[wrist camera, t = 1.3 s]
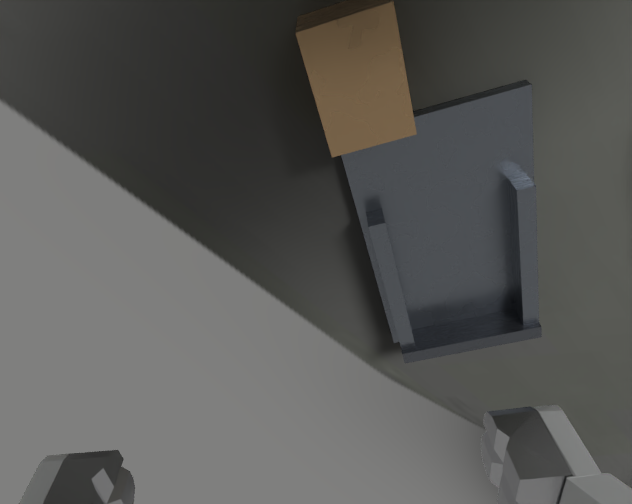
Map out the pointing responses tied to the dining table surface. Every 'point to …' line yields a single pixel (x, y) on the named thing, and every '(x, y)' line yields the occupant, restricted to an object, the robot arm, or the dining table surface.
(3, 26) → the dining table surface
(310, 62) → the cardboard shipping carton
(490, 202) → the tray
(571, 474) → the robot arm
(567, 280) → the dining table surface
